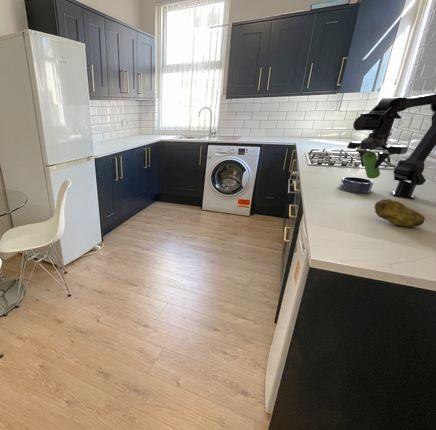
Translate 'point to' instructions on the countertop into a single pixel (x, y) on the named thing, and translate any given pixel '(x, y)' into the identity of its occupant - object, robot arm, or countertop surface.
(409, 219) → the potato
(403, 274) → the countertop surface
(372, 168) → the courgette
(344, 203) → the countertop surface
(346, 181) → the blue bowl
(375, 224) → the countertop surface
